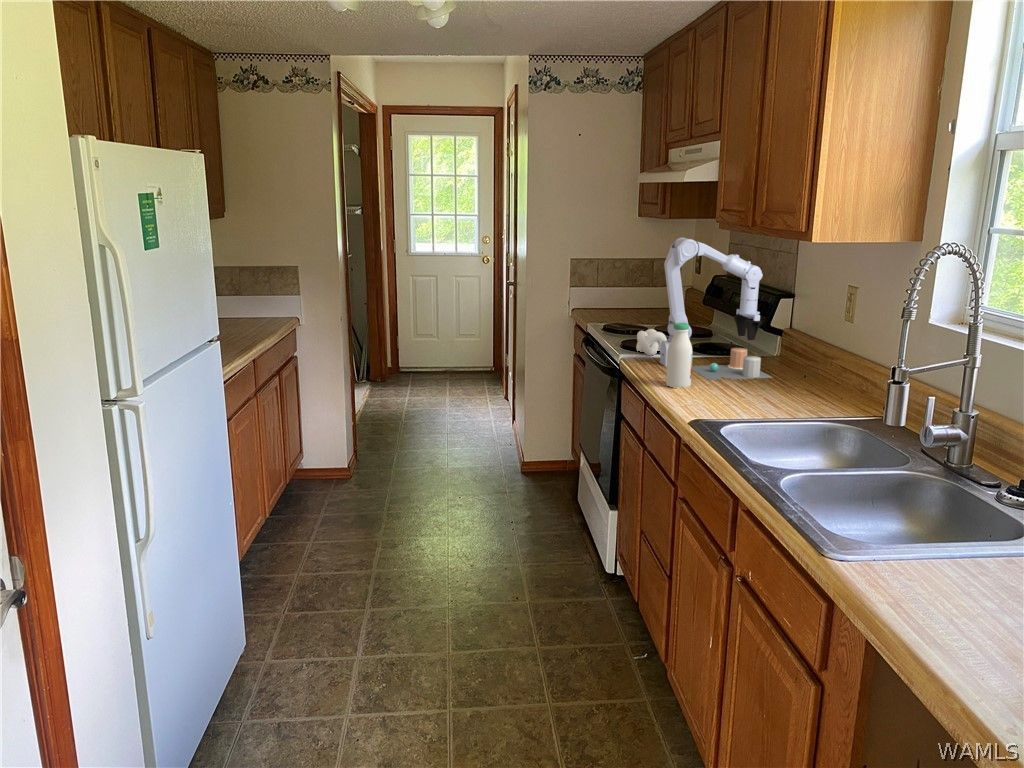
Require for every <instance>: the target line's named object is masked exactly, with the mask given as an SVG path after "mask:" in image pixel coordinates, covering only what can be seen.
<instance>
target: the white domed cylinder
mask: <svg viewBox="0 0 1024 768" xmlns="http://www.w3.org/2000/svg"><path fill="white" fill-rule="evenodd" d="M761 363H762V357H761V356H756V355H747V356H745V357H744V359H743V372H742V375H743V376H745V377H759V376H760V371H761Z"/></svg>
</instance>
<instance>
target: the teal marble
mask: <svg viewBox="0 0 1024 768" xmlns="http://www.w3.org/2000/svg"><path fill="white" fill-rule="evenodd" d="M718 365H719V364H718V363H716V362H712V363H710V364H709V366H710V367H709V368H710V370H711V371H712V372H716V371H717V370H718V368H719V366H718Z"/></svg>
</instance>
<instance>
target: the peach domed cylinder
mask: <svg viewBox="0 0 1024 768" xmlns="http://www.w3.org/2000/svg"><path fill="white" fill-rule="evenodd" d="M745 356H748V349H747V348H743V347H732V348H730V358H729V365H730V367H733V368H743V359H744V357H745Z"/></svg>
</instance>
